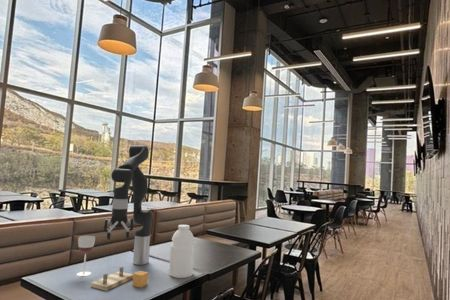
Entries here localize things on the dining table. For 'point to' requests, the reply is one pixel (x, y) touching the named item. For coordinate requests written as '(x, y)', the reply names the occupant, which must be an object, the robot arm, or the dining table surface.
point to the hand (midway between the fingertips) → (117, 239)
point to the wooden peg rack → (112, 280)
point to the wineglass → (85, 250)
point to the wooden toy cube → (140, 279)
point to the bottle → (182, 253)
